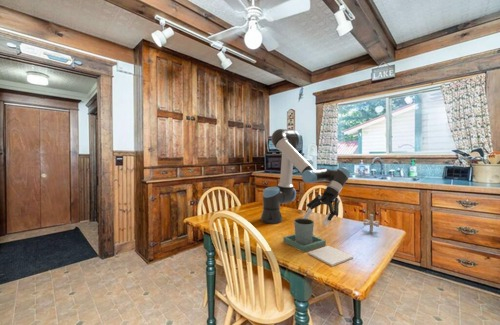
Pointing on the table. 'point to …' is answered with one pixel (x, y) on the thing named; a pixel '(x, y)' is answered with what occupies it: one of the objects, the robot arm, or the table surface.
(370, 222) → the pipe connector
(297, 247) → the square holder
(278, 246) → the table surface
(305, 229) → the grey-green cup
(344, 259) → the ceramic tile
